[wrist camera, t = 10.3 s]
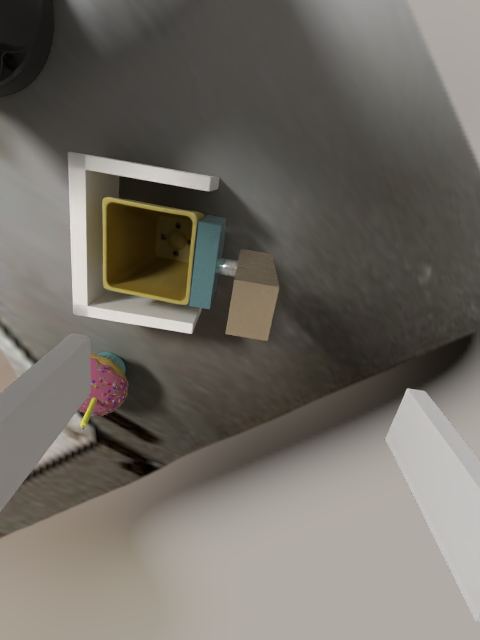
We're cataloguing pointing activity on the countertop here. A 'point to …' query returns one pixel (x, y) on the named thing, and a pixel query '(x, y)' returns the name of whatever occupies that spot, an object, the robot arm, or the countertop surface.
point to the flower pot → (148, 249)
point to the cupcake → (104, 386)
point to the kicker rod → (249, 284)
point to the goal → (87, 241)
